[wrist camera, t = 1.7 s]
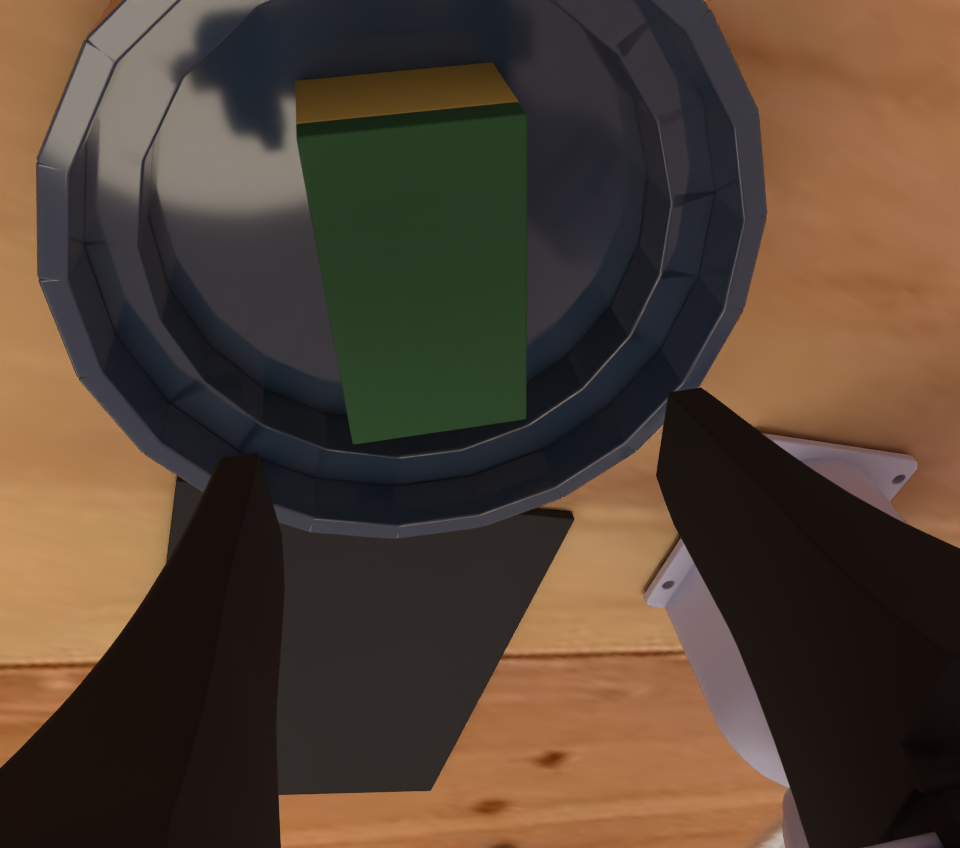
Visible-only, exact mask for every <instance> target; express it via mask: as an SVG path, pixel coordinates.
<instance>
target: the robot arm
mask: <svg viewBox="0 0 960 848" xmlns="http://www.w3.org/2000/svg"><path fill="white" fill-rule="evenodd" d="M917 466H918V463H917V461H916V460H915V459H914V458H913V457H912V456H911V455H907V454H900V453H894V452H887V451H880V450H873V449H867V448H860V447H853V446H846V445H840V444H833V443H826V442H819V441H813V440H806V439H799V438H792V437H786V436H779V435H772V434H765V433H761V432H760V431H758V430H757V429H756V428H754V427H753V426H752V425H750V424H749V423H748V422H746V421H745V420H744V419H742V418H741V417H740V416H738V415H737V414H736V413H735V412H733V411H732V410H731V409H729V408H728V407H727V406H725V405H724V404H723V403H721V402H720V401H719V400H717V399H716V398H715V397H713V396H712V395H711V394H709V393H708V392H707V391H705V390H704V389H702V388H695V389H688V390H681V391H674V392H668V399H667V406H666V412H665V419H664V426H663V432H662V439H661V446H660V453H659V459H658V466H657V473H656V477H657V479H658V482H659V485H660V488H661V491H662V494H663V497H664V500H665V502H666V505H667V508H668V510H669V513H670V515H671V518H672V521H673V523H674V525H675V527H676V529H677V531H678V533H679V535H680V537H681V539H680V540H679V542H678V543H677V545H676V546H675V548H674V549H673V551H672V552H671V554H670V555H669V557H668V559H667V560H666V562H665V563H664V565H663V566H662V568H661V569H660V571H659V572H658V574H657V575H656V577H655V579H654V580H653V582H652V583H651V585H650V586H649V588H648V589H647V591H646V592H645V594H644V599H645V601H646V603H647V605H648V606H651V607H660V608H665V609H666V611H667V613H668V615H669V618H670V620H671V622H672V624H673V627H674V629H675V631H676V633H677V636H678V638H679V640H680V642H681V645H682V647H683V649H684V652H685V654H686V656H687V658H688V661H689V663H690V665H691V667H692V670H693V672H694V674H695V676H696V679H697V681H698V683H699V685H700V688H701V690H702V692H703V694H704V697H705V699H706V701H707V703H708V706H709V708H710V710H711V713H712V715H713V717H714V719H715V721H716V723H717V725H718V727H719V729H720V731H721V732H722V734H723V735H724V737H725V738H726V740H727V741H728V742H729V744H730V745H731V746H732V747H733V748H734V750H735V751H736V752H737V753H738V754H739V755H740V756H741V757H742V758H743V759H744V760H745V761H746V762H747V763H748V764H749V765H750V766H751V767H752V768H754V769H755V770H756V771H757V772H759V773H760V774H762V775H763V776H765V777H766V778H768V779H770V780H772V781H774V782H776V783H778V784H780V785H783V786H786V787H789V788H788V789H787V790H786V792H785V795H784V799H783V821H782V831H783V838H784V843H785V847H786V848H960V548H957V547H955V546H953V545H951V544H949V543H946V542H944V541H942V540H940V539H938V538H936V537H933V536H931V535H929V534H927V533H925V532H922V531H920V530H918V529H916V528H914V527H912V526H910V525H908V524H907V522H906V521H905V520H904V519H903V517H902V516H901V515H900V514H899V512H898V511H897V510H896V509H895V507H894V506H893V505H892V504H891V502H890V501H891V500H892V498H893V497H894V496H895V495H896V494H897V492H898V491H899V490H900V489H901V488H902V486H903V485H904V484H905V483H906V482H907V480H908V479H909V478H910V477H911V476H912V474H913V473H914V472H915V471H916V469H917ZM284 596H285V579H284V559H283V542H282V533H281V530H280V526H279V523H278V519H277V516H276V512H275V509H274V505H273V502H272V498H271V495H270V491H269V488H268V485H267V481H266V478H265V474H264V471H263V467H262V464H261V460H260V457H259V453H258V452H257V453H250V454H243V455H237V456H230V457H223V458H221V459H220V460H219V461H218V462H217V463H216V465H215V468H214V470H213V472H212V475H211V477H210V479H209V481H208V484H207V486H206V488H205V490H204V493H203V495H202V497H201V499H200V501H199V503H198V505H197V507H196V509H195V511H194V513H193V515H192V517H191V519H190V521H189V523H188V525H187V527H186V529H185V530H184V532H183V534H182V536H181V538H180V540H179V542H178V543H177V545H176V547H175V549H174V551H173V553H172V554H171V556H170V558H169V560H168V561H167V563H166V565H165V566H164V568H163V570H162V571H161V573H160V574H159V576H158V578H157V579H156V581H155V582H154V584H153V586H152V587H151V589H150V591H149V592H148V594H147V595H146V597H145V599H144V600H143V602H142V603H141V605H140V606H139V608H138V609H137V611H136V612H135V613H134V615H133V616H132V618H131V619H130V621H129V622H128V624H127V625H126V626H125V628H124V629H123V630H122V632H121V633H120V635H119V636H118V637H117V639H116V640H115V641H114V643H113V644H112V645H111V647H110V648H109V649H108V651H107V652H106V653H105V654H104V656H103V657H102V658H101V659H100V661H99V662H98V663H97V664H96V665H95V667H94V668H93V669H92V670H91V672H90V673H89V674H88V675H87V676H86V678H85V679H84V680H83V681H82V683H81V684H80V685H79V686H78V687H77V688H76V690H75V691H74V692H73V693H72V694H71V695H70V697H69V698H68V699H67V700H66V701H65V702H64V703H63V704H62V706H61V707H60V708H59V709H58V710H57V711H56V712H55V713H54V714H53V715H52V716H51V717H50V718H49V719H48V720H47V721H46V722H45V723H44V724H43V725H42V727H41V728H40V729H39V730H38V731H37V732H36V733H35V734H34V735H33V736H32V737H31V738H30V739H29V740H28V741H27V742H26V743H25V744H24V745H23V746H22V747H21V748H20V749H19V750H18V751H17V752H16V753H15V754H14V755H13V756H12V757H11V758H10V759H9V760H8V761H7V762H6V763H5V764H4V765H3V766H2V767H1V768H0V848H281V843H280V820H279V798H278V771H277V740H276V722H277V698H278V683H279V669H280V655H281V641H282V627H283V611H284Z"/></svg>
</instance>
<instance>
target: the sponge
mask: <svg viewBox="0 0 960 848" xmlns="http://www.w3.org/2000/svg"><path fill="white" fill-rule="evenodd" d="M295 105H296V139H297V145H298V150H299V156H300V161H301V167H302V172H303V177H304V183H305V188H306V194H307V199H308V205H309V210H310V215H311V221H312V226H313V232H314V237H315V242H316V248H317V253H318V259H319V264H320V270H321V275H322V280H323V286H324V291H325V297H326V302H327V308H328V313H329V318H330V324H331V329H332V335H333V340H334V345H335V351H336V356H337V362H338V367H339V373H340V378H341V383H342V389H343V394H344V400H345V405H346V411H347V416H348V421H349V427H350V432H351V438H352V443H353V444H360V443H367V442H374V441H381V440H387V439H394V438H401V437H408V436H415V435H421V434H428V433H435V432H442V431H449V430H455V429H462V428H469V427H476V426H483V425H489V424H496V423H503V422H510V421H517V420H523V419H526V407H527V114H526V112H525V111H524V109H523V108H522V106H521V105H520V103H519V102H518V100H517V98H516V97H515V95H514V94H513V92H512V91H511V89H510V88H509V86H508V85H507V83H506V82H505V80H504V79H503V77H502V76H501V74H500V73H499V71H498V70H497V68H496V67H495V65H494V64H493V63H492V62H489V63H479V64H468V65H457V66H447V67H436V68H425V69H415V70H404V71H393V72H382V73H372V74H361V75H350V76H340V77H329V78H318V79H307V80H297V81H295Z"/></svg>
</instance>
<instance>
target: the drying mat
mask: <svg viewBox="0 0 960 848" xmlns="http://www.w3.org/2000/svg"><path fill="white" fill-rule="evenodd" d="M203 493H204V492H202V491H201V490H199V489H198V488H196V487H195V486H193V485H191V484H190V483H188V482H187V481H185V480H184V479H182V478H180V477H179V476H177V480H176V488H175V496H174V504H173V513H172V521H171V529H170V537H169V545H168V554H167V561H168V560H169V558H170V556H171V554H172V553H173V551H174V549H175V547H176V545H177V543H178V542H179V540H180V538H181V536H182V534H183V532H184V530H185V529H186V527H187V525H188V523H189V521H190V519H191V517H192V515H193V513H194V511H195V509H196V507H197V505H198V503H199V501H200V499H201V497H202V495H203ZM573 521H574V517H573V514H572V513H571V512H563V511H553V510H543V509H531V510H528V511H526V512H523V513H520V514H517V515H515V516H512V517H509V518H506V519H504V520H501V521H498V522H495V523H493V524H490V525H487V526H484V527H483V526H481V527H480V528H473V529H466V530H459V531H452V532H444V533H437V534H430V535H422V536H415V537H408V538H401V539H397V538H396V539H385V538H373V537H360V536H348V535H336V534H323V533H311V532H309V531H304V530H301V529H298V528H295V527H292V526H288V525H285V524H282V523H279V522H278V523H279V526H280V530H281V533H282V542H283V559H284V579H285V596H284V611H283V627H282V641H281V655H280V669H279V683H278V698H277V722H276V740H277V771H278V795H291V794H328V793H365V792H402V791H431V789H432V787H433V785H434V783H435V782H436V780H437V778H438V776H439V774H440V772H441V770H442V768H443V766H444V765H445V763H446V761H447V759H448V757H449V755H450V753H451V751H452V749H453V748H454V746H455V744H456V742H457V740H458V738H459V736H460V734H461V732H462V731H463V729H464V727H465V725H466V723H467V721H468V719H469V717H470V715H471V714H472V712H473V710H474V708H475V706H476V704H477V702H478V700H479V698H480V697H481V695H482V693H483V691H484V689H485V687H486V685H487V683H488V681H489V680H490V678H491V676H492V674H493V672H494V670H495V668H496V666H497V665H498V663H499V661H500V659H501V657H502V655H503V653H504V651H505V649H506V648H507V646H508V644H509V642H510V640H511V638H512V636H513V634H514V632H515V631H516V629H517V627H518V625H519V623H520V621H521V619H522V617H523V615H524V614H525V612H526V610H527V608H528V606H529V604H530V602H531V600H532V598H533V597H534V595H535V593H536V591H537V589H538V587H539V585H540V583H541V581H542V580H543V578H544V576H545V574H546V572H547V570H548V568H549V566H550V564H551V563H552V561H553V559H554V557H555V555H556V553H557V551H558V549H559V548H560V546H561V544H562V542H563V540H564V538H565V536H566V534H567V532H568V531H569V529H570V527H571V525H572V523H573ZM166 563H167V562H166Z"/></svg>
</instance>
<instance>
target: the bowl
mask: <svg viewBox="0 0 960 848" xmlns="http://www.w3.org/2000/svg"><path fill="white" fill-rule="evenodd" d="M489 62H492V63H493V64H494V65H495V67H496V68H497V70H498V71H499V73H500V74H501V76H502V77H503V79H504V80H505V82H506V83H507V85H508V86H509V88H510V89H511V91H512V92H513V94H514V95H515V97H516V98H517V100H518V102H519V103H520V105H521V106H522V108H523V109H524V111H525V112H526V114H527V407H526V419H523V420H517V421H510V422H503V423H496V424H489V425H483V426H476V427H469V428H462V429H455V430H449V431H442V432H435V433H428V434H421V435H415V436H408V437H401V438H394V439H387V440H381V441H374V442H367V443H360V444H353V443H352V438H351V432H350V427H349V421H348V416H347V411H346V405H345V400H344V394H343V389H342V383H341V378H340V373H339V367H338V362H337V356H336V351H335V345H334V340H333V335H332V329H331V324H330V318H329V313H328V308H327V302H326V297H325V291H324V286H323V280H322V275H321V270H320V264H319V259H318V253H317V248H316V242H315V237H314V232H313V226H312V221H311V215H310V210H309V205H308V199H307V194H306V188H305V183H304V177H303V172H302V167H301V161H300V156H299V150H298V145H297V139H296V105H295V81H297V80H307V79H318V78H329V77H340V76H350V75H361V74H372V73H382V72H393V71H404V70H415V69H425V68H436V67H447V66H457V65H468V64H479V63H489ZM36 207H37V275H38V278H39V283H40V286H41V288H42V291H43V293H44V296H45V298H46V301H47V303H48V306H49V308H50V311H51V313H52V316H53V318H54V320H55V323H56V325H57V328H58V330H59V333H60V335H61V338H62V340H63V343H64V345H65V348H66V350H67V353H68V355H69V358H70V360H71V363H72V365H73V368H74V370H75V373H76V375H77V377H79V381H80V382H81V383H82V384H83V385H84V386H85V388H86V389H87V390H88V391H89V392H90V393H91V394H92V396H93V397H94V398H95V399H96V400H97V401H98V403H99V404H100V405H101V406H102V407H103V408H104V409H105V411H106V412H107V413H108V414H109V415H110V416H111V418H112V419H113V420H114V421H115V422H116V423H117V424H118V426H119V427H120V428H121V429H122V430H123V431H124V433H125V434H126V435H127V436H128V437H129V438H130V439H131V441H132V442H133V443H134V444H135V445H136V446H137V448H138V449H139V450H140V451H141V452H142V453H144V454H145V455H146V456H147V457H149V458H151V459H152V460H154V461H155V462H157V463H158V464H160V465H162V466H163V467H165V468H166V469H168V470H169V471H171V472H173V473H174V474H176V475H177V476H179V477H180V478H182V479H184V480H185V481H187V482H188V483H190V484H191V485H193V486H195V487H196V488H198V489H199V490H201V491H202V492H204V490H205V488H206V486H207V484H208V481H209V479H210V477H211V475H212V472H213V470H214V468H215V465H216V463H217V462H218V461H219V460H220V459H221V458H223V457H230V456H237V455H243V454H250V453H257V452H258V453H259V457H260V460H261V464H262V467H263V471H264V474H265V478H266V481H267V485H268V488H269V491H270V495H271V498H272V502H273V505H274V509H275V512H276V516H277V519H278V522H279V523H282V524H285V525H288V526H292V527H295V528H298V529H301V530H304V531H309V532H311V533H323V534H336V535H348V536H360V537H373V538H385V539H396V538H397V539H401V538H408V537H415V536H422V535H430V534H437V533H444V532H452V531H459V530H466V529H473V528H480V527H481V526H483V527H484V526H487V525H490V524H493V523H495V522H498V521H501V520H504V519H506V518H509V517H512V516H515V515H517V514H520V513H523V512H526V511H528V510H531V509H534V508H537V507H539V506H542V505H545V504H548V503H550V502H553V501H556V500H559V499H561V498H562V497H565V496H567V495H568V494H570V493H572V492H573V491H575V490H576V489H578V488H580V487H581V486H583V485H584V484H586V483H587V482H589V481H591V480H592V479H594V478H595V477H597V476H598V475H600V474H602V473H603V472H605V471H606V470H608V469H610V468H611V467H613V466H614V465H616V464H617V463H619V462H621V461H622V460H624V459H625V458H627V457H628V456H630V455H632V454H633V453H635V450H638V449H639V448H640V447H641V446H642V445H643V444H644V443H645V442H646V441H647V440H648V439H649V438H650V437H651V436H652V435H653V434H654V433H655V432H656V431H657V430H658V429H659V428H660V427H661V426H662V425H663V424H664V419H665V412H666V406H667V399H668V392H674V391H681V390H688V389H695V388H697V387H699V386H700V385H701V383H702V381H703V379H704V378H705V376H706V374H707V373H708V371H709V369H710V367H711V366H712V364H713V362H714V360H715V359H716V357H717V355H718V354H719V352H720V350H721V348H722V347H723V345H724V343H725V341H726V340H727V338H728V336H729V335H730V333H731V331H732V329H733V328H734V326H735V324H736V322H737V321H738V319H739V317H740V316H741V314H742V312H743V308H744V307H745V304H746V300H747V296H748V292H749V288H750V283H751V279H752V275H753V271H754V267H755V263H756V259H757V255H758V251H759V247H760V243H761V239H762V235H763V230H764V226H765V222H766V215H767V206H766V193H765V181H764V169H763V157H762V145H761V133H760V120H759V113H758V108H757V106H756V104H755V102H754V99H753V97H752V95H751V93H750V91H749V89H748V87H747V85H746V82H745V80H744V78H743V76H742V74H741V72H740V70H739V68H738V65H737V63H736V61H735V59H734V57H733V55H732V53H731V51H730V49H729V46H728V44H727V42H726V40H725V38H724V36H723V34H722V32H721V29H720V27H719V25H718V23H717V21H716V19H715V17H714V15H713V12H712V10H710V9H709V8H708V6H707V5H706V4H705V3H704V2H703V1H702V0H112V1H111V2H110V4H109V5H108V7H107V8H106V9H105V11H104V12H103V14H102V15H101V17H100V18H99V19H98V21H97V22H96V24H95V25H94V27H93V28H92V29H91V31H90V32H89V34H88V35H87V37H86V38H85V40H84V42H83V44H82V47H81V49H80V52H79V54H78V56H77V59H76V61H75V64H74V66H73V69H72V71H71V74H70V76H69V79H68V81H67V84H66V86H65V89H64V91H63V94H62V96H61V99H60V101H59V104H58V106H57V109H56V111H55V114H54V116H53V119H52V121H51V124H50V126H49V129H48V131H47V134H46V136H45V138H44V141H43V143H42V146H41V148H40V151H39V153H38V156H37V163H36Z"/></svg>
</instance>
